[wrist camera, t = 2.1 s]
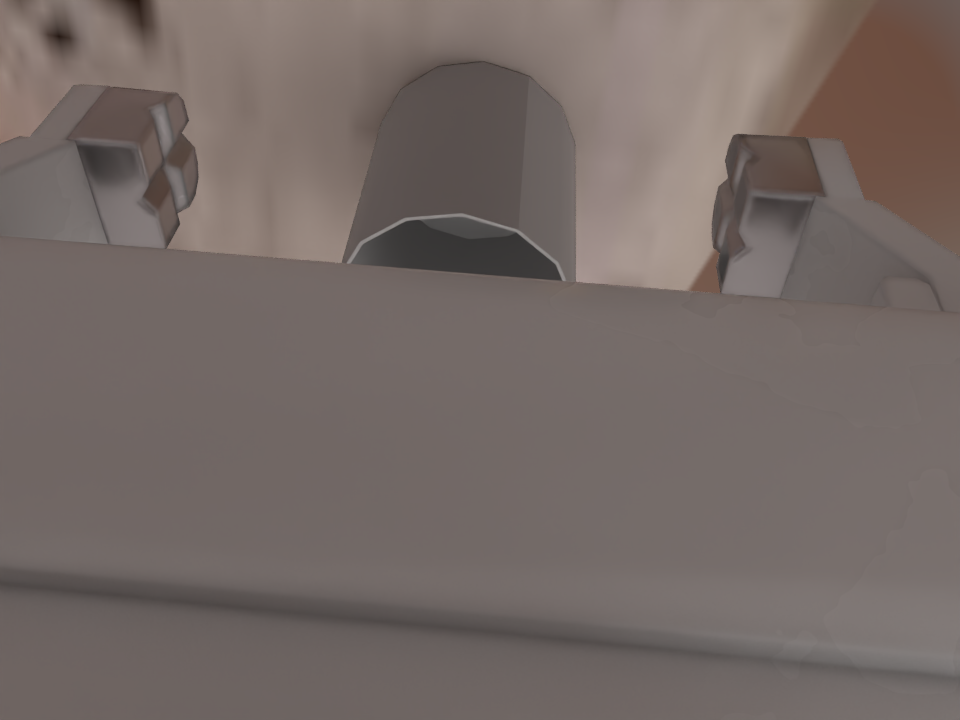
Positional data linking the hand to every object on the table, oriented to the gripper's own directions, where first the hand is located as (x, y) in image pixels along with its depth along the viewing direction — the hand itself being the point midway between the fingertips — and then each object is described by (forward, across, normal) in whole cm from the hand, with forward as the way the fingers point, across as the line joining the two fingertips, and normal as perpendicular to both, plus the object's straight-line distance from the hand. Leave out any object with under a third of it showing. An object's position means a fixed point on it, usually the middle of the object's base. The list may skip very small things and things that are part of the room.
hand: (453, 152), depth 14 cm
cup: (+22, +1, +14) cm, 26 cm away
